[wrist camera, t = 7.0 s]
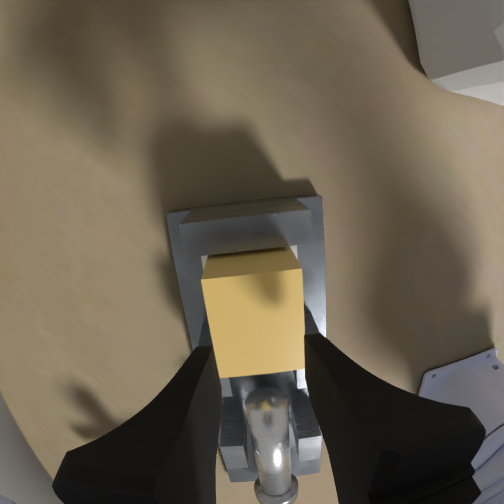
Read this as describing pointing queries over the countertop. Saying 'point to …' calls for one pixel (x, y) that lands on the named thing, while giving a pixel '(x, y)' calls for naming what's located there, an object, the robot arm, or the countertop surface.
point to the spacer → (255, 311)
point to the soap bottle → (462, 45)
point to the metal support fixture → (189, 279)
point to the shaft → (271, 446)
